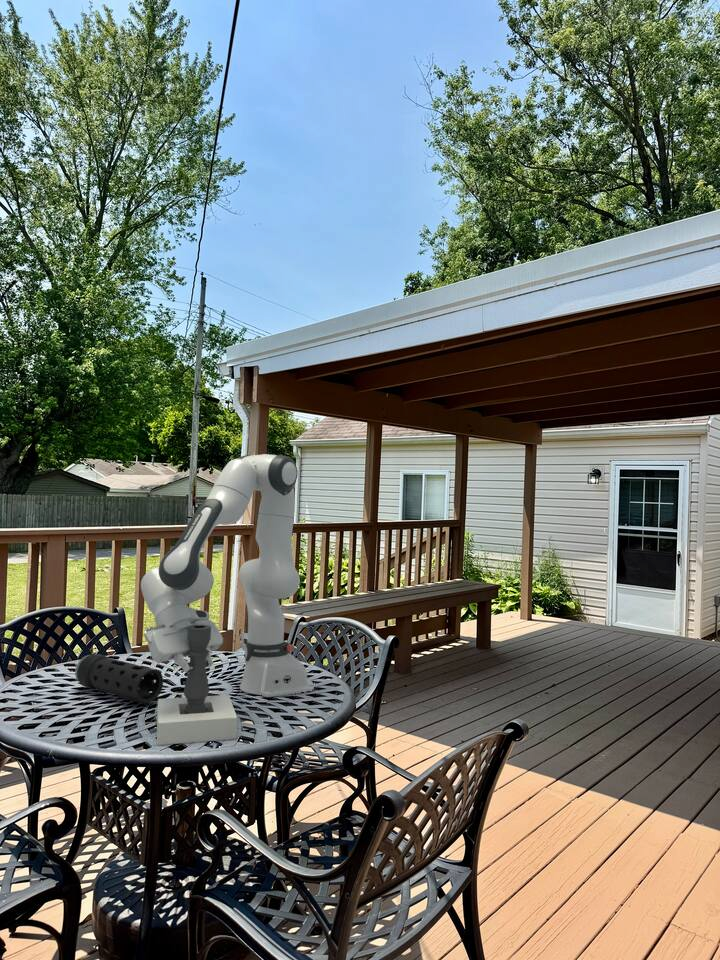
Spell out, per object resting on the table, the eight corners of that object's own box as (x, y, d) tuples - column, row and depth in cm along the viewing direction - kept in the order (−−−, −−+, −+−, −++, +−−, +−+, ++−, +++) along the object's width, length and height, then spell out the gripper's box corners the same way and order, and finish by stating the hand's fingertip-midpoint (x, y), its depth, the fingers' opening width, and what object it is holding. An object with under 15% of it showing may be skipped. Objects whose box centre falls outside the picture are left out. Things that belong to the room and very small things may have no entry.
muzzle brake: (134, 711, 163) (136, 672, 164) (71, 691, 178) (73, 655, 178) (163, 702, 171) (165, 665, 172) (100, 684, 186) (102, 649, 186)
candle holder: (181, 725, 154) (185, 624, 155) (206, 723, 156) (211, 624, 157) (182, 734, 148) (187, 629, 149) (208, 731, 150) (213, 629, 151)
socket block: (227, 713, 164) (228, 694, 164) (236, 738, 147) (237, 717, 147) (156, 718, 158) (158, 699, 158) (156, 745, 141) (158, 723, 141)
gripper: (147, 620, 149) (171, 668, 143) (212, 611, 166) (236, 653, 160) (135, 636, 151) (158, 684, 145) (200, 625, 168) (223, 667, 162)
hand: (199, 668), depth 153 cm, fingers open, 5 cm apart
